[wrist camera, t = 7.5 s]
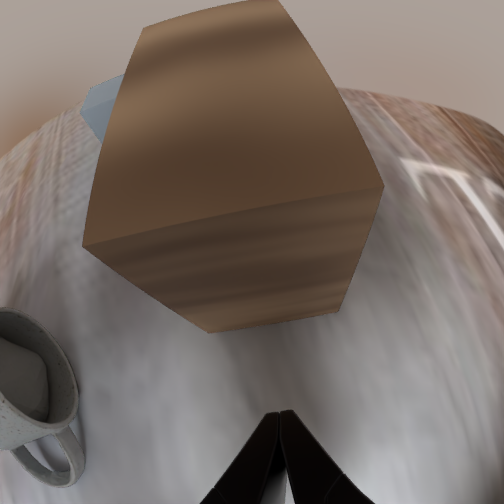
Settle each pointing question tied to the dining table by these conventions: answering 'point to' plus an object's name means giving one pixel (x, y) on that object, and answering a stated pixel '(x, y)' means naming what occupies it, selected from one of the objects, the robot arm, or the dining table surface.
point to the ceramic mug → (36, 396)
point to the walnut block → (232, 172)
